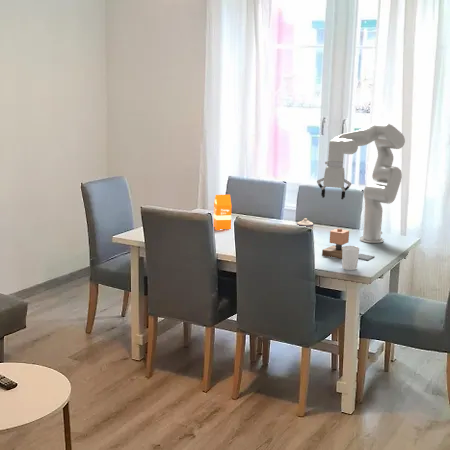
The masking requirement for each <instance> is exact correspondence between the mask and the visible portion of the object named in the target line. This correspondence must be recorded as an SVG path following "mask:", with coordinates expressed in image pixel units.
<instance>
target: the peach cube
mask: <svg viewBox="0 0 450 450" xmlns="http://www.w3.org/2000/svg"><path fill="white" fill-rule="evenodd" d="M349 236H350V230H348V229H343V228H340V227H339V228H335V229H332V230H330V231H329V243H330V244H334V245H336V244H339V245H342V246H343V245H346V244H348V243H349V240H350V239H349V238H350V237H349Z"/></svg>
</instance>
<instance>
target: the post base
mask: <svg viewBox="0 0 450 450" xmlns="http://www.w3.org/2000/svg"><path fill="white" fill-rule="evenodd" d="M342 247H343V245H339V244H334V245H331V246H328V247H326V248H323V249H322V252H321V256H322V257H328V258H332V259H333V258H334V259H338V260H342Z"/></svg>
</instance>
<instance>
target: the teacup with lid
mask: <svg viewBox="0 0 450 450" xmlns="http://www.w3.org/2000/svg"><path fill="white" fill-rule="evenodd" d="M297 225H299V226H306V227H310V228H312V229H313V230H314V223H313V222H312V221H310V220H308V218H306V217H305V218H303V220H301V221H297V223H296V226H297Z"/></svg>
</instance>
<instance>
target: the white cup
mask: <svg viewBox="0 0 450 450" xmlns="http://www.w3.org/2000/svg"><path fill="white" fill-rule="evenodd" d="M359 254H360V247H358V246H355V245H344V246H343V245H342V259H341V262H342V263H341V264H342V269H343V270H347V271H355V270H357V268H358V263H359V259H358V256H359Z"/></svg>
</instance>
